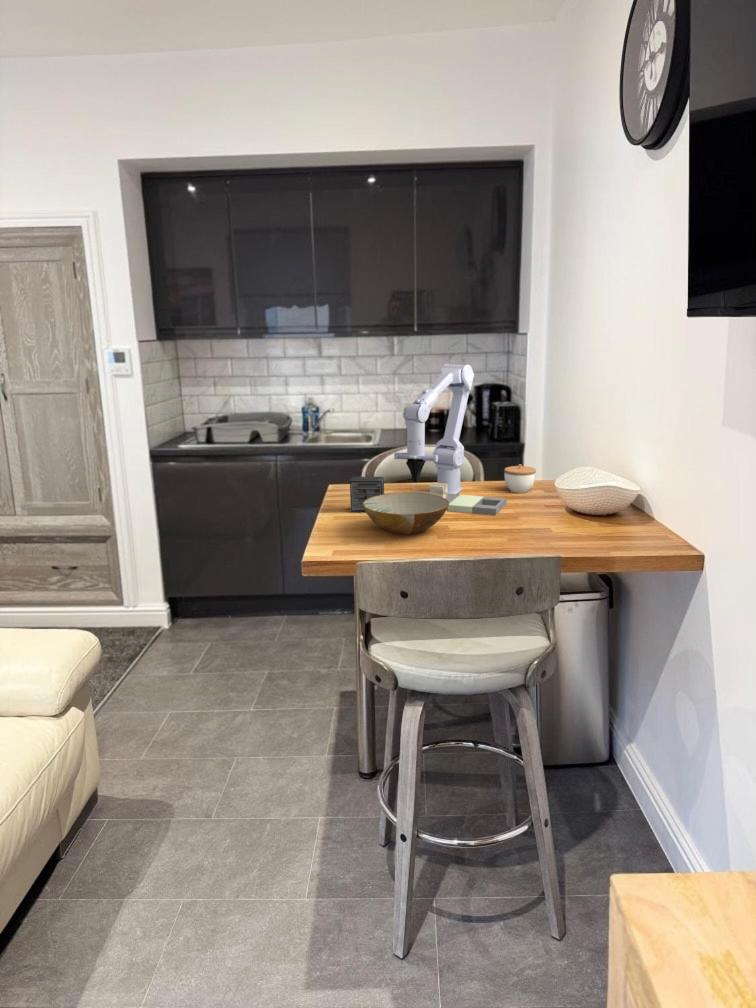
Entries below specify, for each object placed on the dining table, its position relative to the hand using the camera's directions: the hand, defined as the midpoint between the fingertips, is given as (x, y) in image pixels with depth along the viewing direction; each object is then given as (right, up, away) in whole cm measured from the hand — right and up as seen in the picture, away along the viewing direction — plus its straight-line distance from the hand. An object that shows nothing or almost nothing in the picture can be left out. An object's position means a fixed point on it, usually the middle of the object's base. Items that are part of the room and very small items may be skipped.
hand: (415, 481), depth 238 cm
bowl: (-4, -15, -28) cm, 32 cm away
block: (+7, -5, -2) cm, 9 cm away
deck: (+12, -8, -3) cm, 14 cm away
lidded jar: (+37, -3, +15) cm, 40 cm away
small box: (-16, -9, -6) cm, 19 cm away
